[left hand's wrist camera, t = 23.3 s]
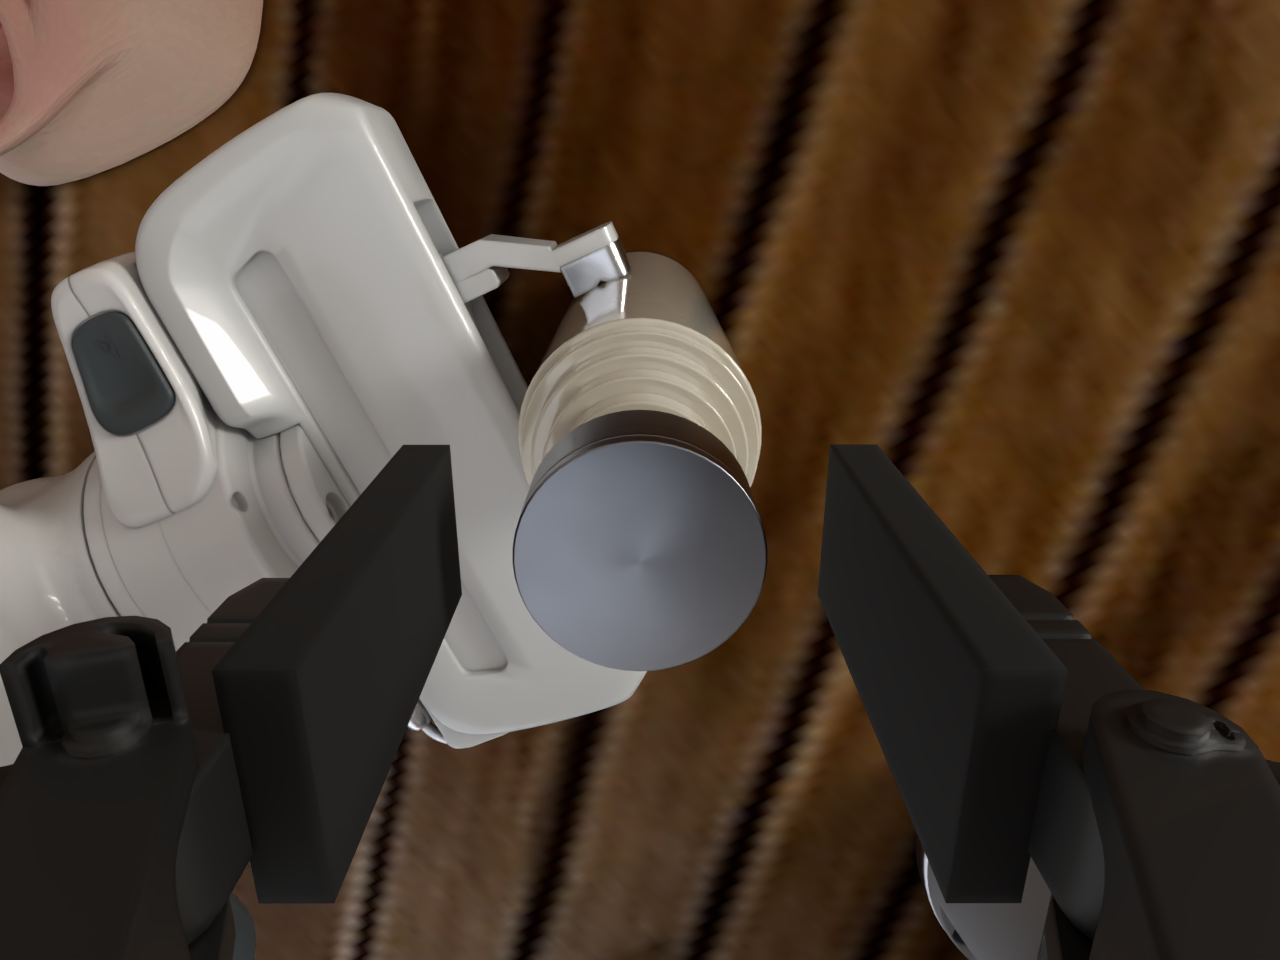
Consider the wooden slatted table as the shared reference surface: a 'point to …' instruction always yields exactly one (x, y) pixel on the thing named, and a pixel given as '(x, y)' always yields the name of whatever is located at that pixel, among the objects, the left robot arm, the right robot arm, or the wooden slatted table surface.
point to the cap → (639, 542)
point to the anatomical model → (113, 78)
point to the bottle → (641, 364)
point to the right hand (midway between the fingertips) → (666, 347)
